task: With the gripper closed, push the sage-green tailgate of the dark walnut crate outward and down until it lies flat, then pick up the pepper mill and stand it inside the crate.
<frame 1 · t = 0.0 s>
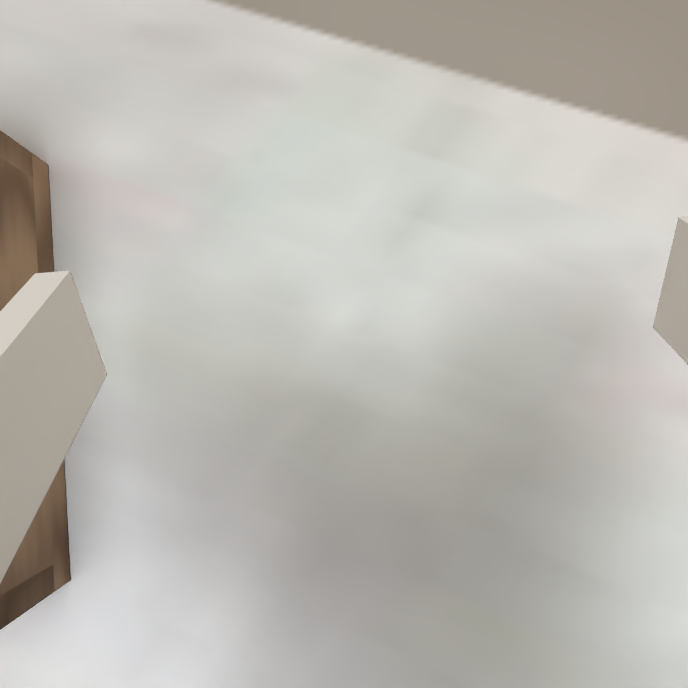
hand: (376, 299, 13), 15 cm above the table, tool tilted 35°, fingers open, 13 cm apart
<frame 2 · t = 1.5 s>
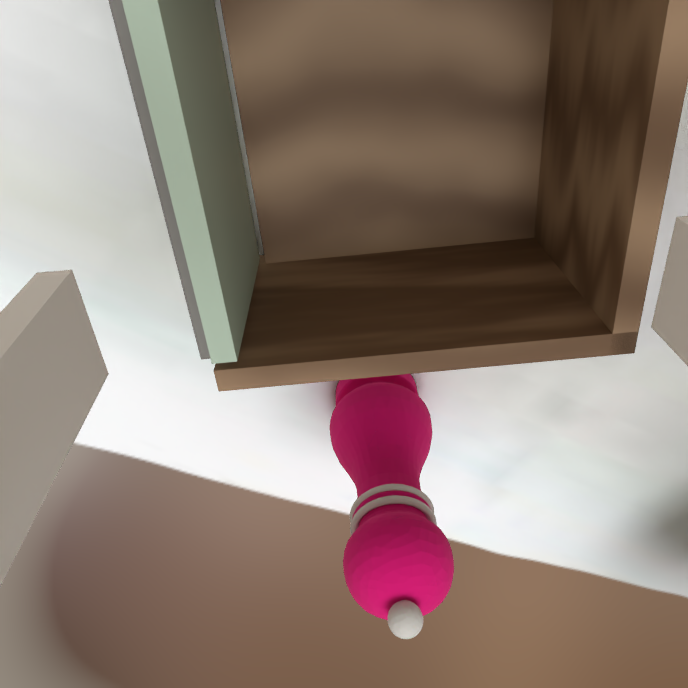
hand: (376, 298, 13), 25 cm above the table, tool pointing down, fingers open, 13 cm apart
tailgate: (201, 150, 29), point 8 cm above the table, hinge at 0.0°
crate: (387, 101, 35), on the table
pepper mill: (375, 391, 46), on the table
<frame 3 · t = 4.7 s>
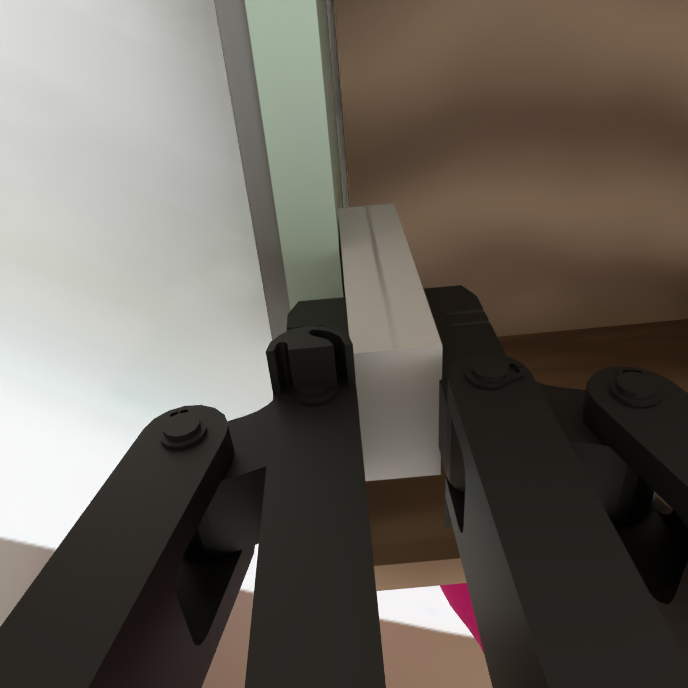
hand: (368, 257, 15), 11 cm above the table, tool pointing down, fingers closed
tailgate: (312, 219, 18), point 8 cm above the table, hinge at 1.7°, touching gripper
crate: (549, 133, 25), on the table
pepper mill: (480, 493, 36), on the table
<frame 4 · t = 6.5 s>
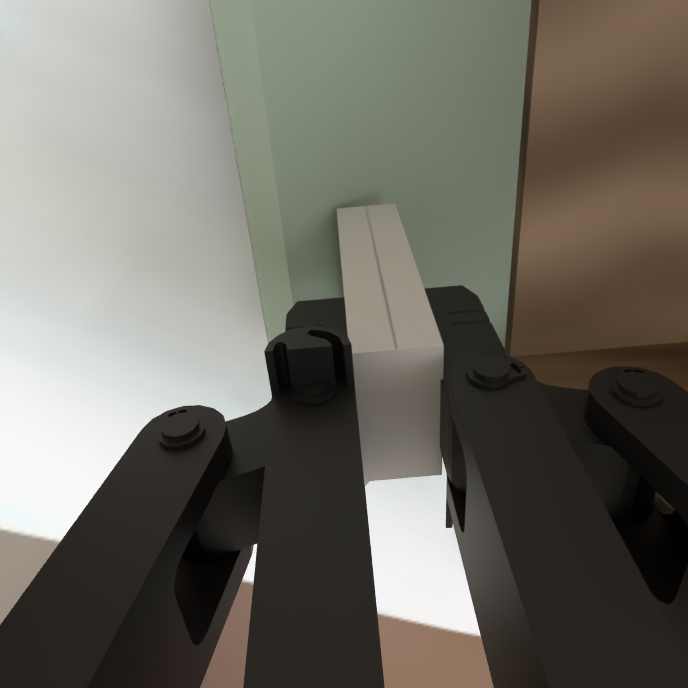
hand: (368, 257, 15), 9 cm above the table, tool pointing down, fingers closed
tailgate: (403, 204, 19), point 5 cm above the table, hinge at 42.1°, touching gripper
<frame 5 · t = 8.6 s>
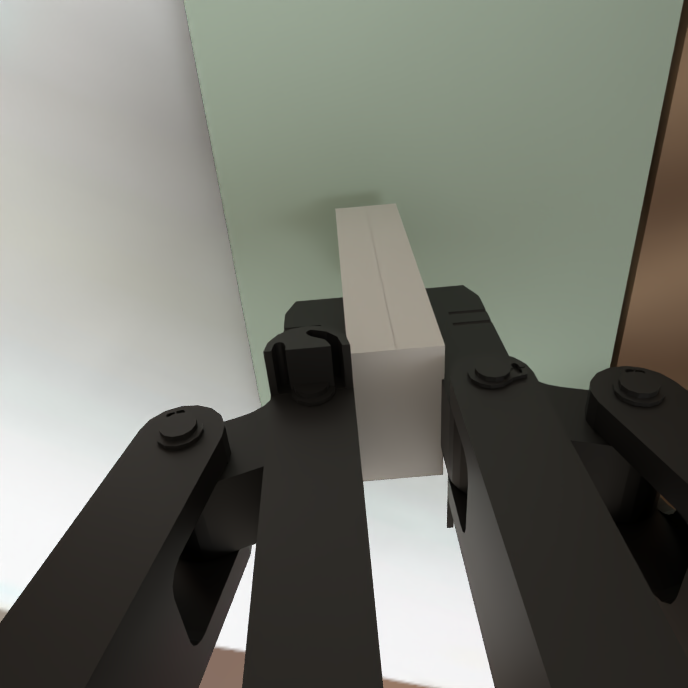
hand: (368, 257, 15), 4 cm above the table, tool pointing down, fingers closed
tailgate: (436, 207, 17), point 1 cm above the table, hinge at 82.5°
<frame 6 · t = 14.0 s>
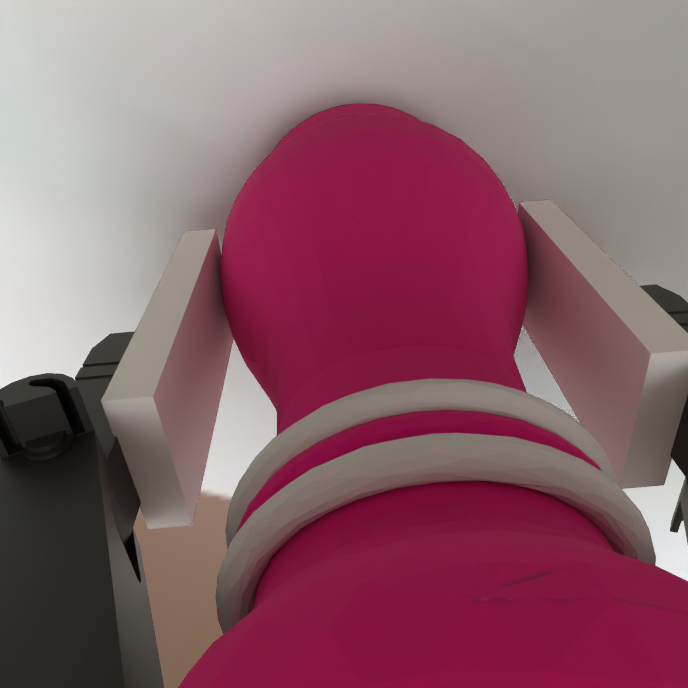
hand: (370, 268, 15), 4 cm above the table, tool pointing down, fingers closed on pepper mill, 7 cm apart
pepper mill: (359, 208, 18), on the table, touching gripper
when the fingers open (8 cm above the table, at t = 21.5 s): pepper mill drops 2 cm, resting on crate.
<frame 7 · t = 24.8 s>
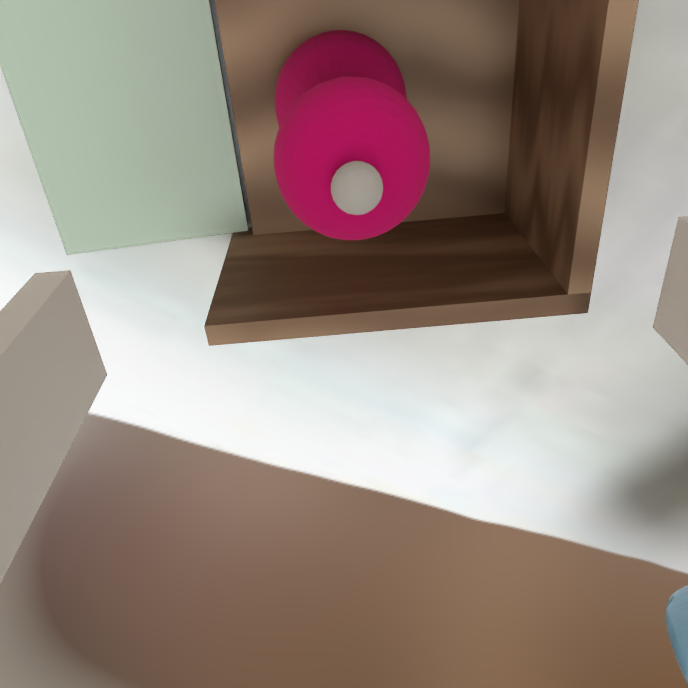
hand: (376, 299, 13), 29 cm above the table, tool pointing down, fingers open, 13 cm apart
tailgate: (127, 108, 36), point 1 cm above the table, hinge at 82.5°
crate: (368, 83, 38), on the table
pepper mill: (338, 90, 37), point 1 cm above the table, touching crate
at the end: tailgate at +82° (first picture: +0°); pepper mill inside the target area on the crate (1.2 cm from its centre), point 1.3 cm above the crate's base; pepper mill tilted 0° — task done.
